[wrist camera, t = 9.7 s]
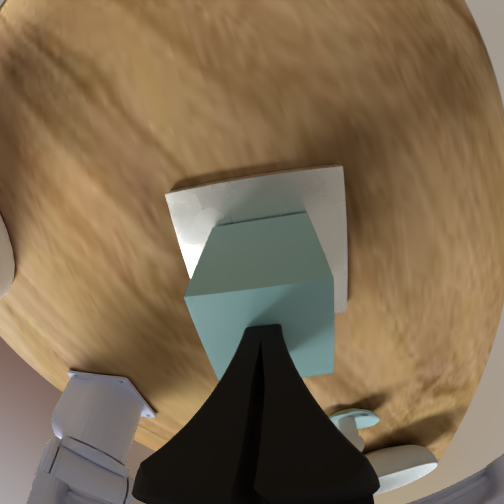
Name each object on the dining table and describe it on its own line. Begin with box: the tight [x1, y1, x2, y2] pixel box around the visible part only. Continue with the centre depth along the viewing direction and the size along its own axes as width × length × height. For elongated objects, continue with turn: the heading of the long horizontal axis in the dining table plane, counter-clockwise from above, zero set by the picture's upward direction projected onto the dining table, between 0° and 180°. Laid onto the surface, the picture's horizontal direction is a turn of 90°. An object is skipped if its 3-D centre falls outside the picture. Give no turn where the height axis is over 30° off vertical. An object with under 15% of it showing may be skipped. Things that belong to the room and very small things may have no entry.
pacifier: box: [329, 408, 379, 452], centre depth 25 cm, size 7×6×6 cm
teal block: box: [184, 213, 334, 381], centre depth 14 cm, size 5×5×7 cm
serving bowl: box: [365, 445, 438, 495], centre depth 33 cm, size 21×21×7 cm
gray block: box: [165, 164, 348, 313], centre depth 14 cm, size 10×10×7 cm
